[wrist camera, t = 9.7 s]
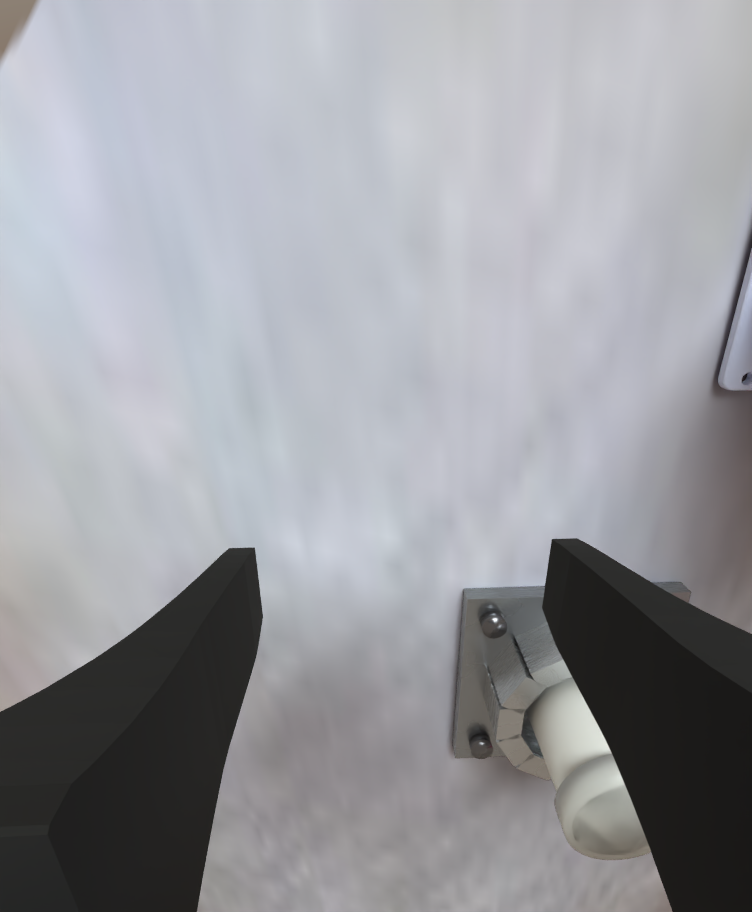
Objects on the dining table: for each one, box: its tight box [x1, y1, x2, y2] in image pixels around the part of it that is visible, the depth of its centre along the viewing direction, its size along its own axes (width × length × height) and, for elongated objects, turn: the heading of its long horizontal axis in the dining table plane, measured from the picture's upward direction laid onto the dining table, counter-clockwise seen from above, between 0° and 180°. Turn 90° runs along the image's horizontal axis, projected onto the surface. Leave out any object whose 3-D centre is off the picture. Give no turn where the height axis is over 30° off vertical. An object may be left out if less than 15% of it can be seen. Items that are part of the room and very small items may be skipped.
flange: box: [453, 582, 691, 781], centre depth 25 cm, size 11×11×3 cm
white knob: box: [526, 677, 651, 860], centre depth 22 cm, size 5×5×7 cm
